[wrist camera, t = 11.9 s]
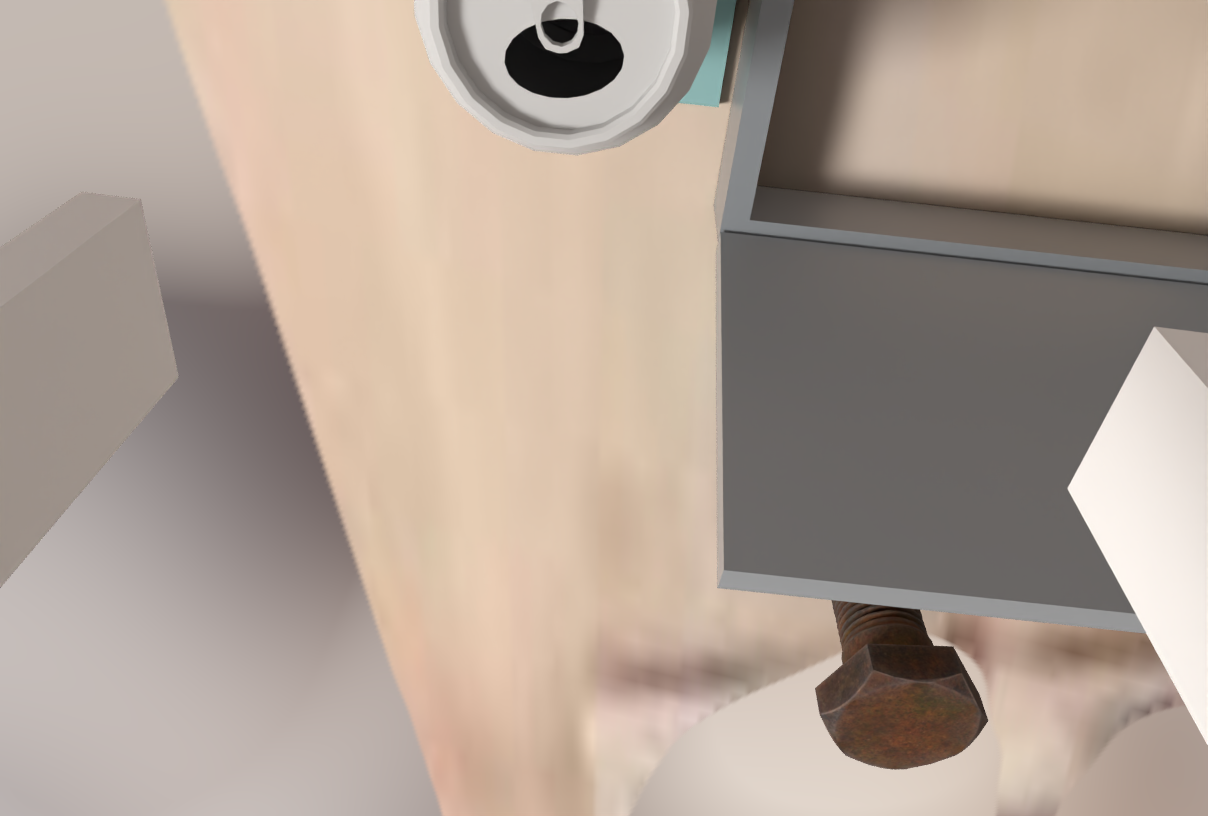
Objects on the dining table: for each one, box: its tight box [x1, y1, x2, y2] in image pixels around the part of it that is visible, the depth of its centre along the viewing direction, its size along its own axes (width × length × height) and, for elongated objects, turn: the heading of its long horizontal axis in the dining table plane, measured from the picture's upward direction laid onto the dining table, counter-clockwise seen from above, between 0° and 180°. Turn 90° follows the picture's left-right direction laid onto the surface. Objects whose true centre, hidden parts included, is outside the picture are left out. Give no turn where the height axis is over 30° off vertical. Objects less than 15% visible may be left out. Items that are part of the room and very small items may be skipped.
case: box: [714, 0, 1208, 633], centre depth 26 cm, size 22×18×17 cm
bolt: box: [815, 600, 988, 769], centre depth 37 cm, size 6×5×15 cm
